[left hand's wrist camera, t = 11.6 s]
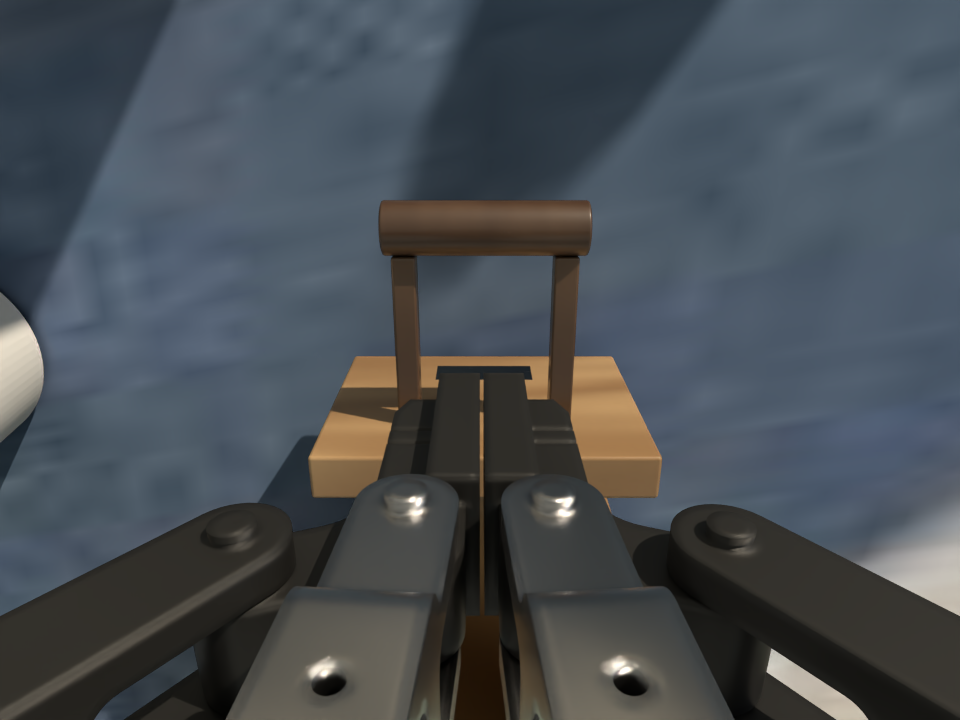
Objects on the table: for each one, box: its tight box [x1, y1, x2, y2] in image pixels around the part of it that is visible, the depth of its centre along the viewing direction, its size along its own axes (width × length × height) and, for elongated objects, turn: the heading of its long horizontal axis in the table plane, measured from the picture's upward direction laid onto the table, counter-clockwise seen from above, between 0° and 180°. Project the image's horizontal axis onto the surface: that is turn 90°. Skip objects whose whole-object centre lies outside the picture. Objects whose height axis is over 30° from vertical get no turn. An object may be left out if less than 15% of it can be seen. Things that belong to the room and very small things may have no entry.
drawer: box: [308, 200, 662, 720], centre depth 22 cm, size 26×9×7 cm, turn 0°
